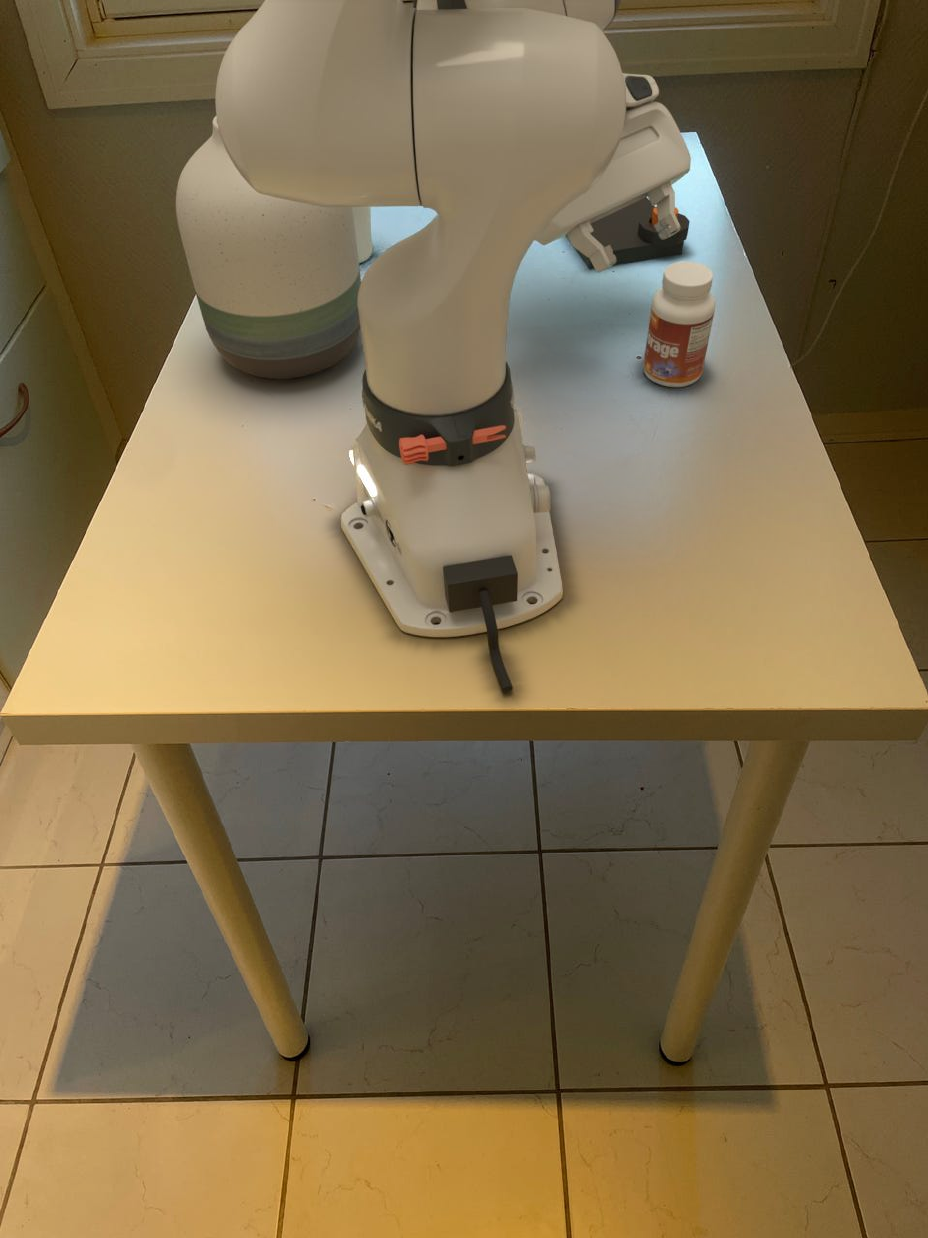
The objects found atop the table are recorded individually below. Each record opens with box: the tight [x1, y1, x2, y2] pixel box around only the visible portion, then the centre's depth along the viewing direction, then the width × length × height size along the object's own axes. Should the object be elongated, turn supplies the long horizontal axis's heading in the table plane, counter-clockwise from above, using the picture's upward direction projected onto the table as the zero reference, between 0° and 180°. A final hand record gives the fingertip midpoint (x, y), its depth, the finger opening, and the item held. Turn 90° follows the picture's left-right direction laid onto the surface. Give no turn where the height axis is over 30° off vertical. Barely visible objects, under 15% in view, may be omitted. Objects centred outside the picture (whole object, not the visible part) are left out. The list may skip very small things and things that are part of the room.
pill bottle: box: [642, 260, 716, 388], centre depth 93 cm, size 6×6×11 cm
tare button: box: [651, 205, 679, 226], centre depth 112 cm, size 3×3×2 cm
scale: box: [565, 197, 691, 270], centre depth 116 cm, size 15×13×4 cm
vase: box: [175, 115, 362, 380], centre depth 93 cm, size 17×17×24 cm
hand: (640, 251), depth 92 cm, fingers open, 8 cm apart
